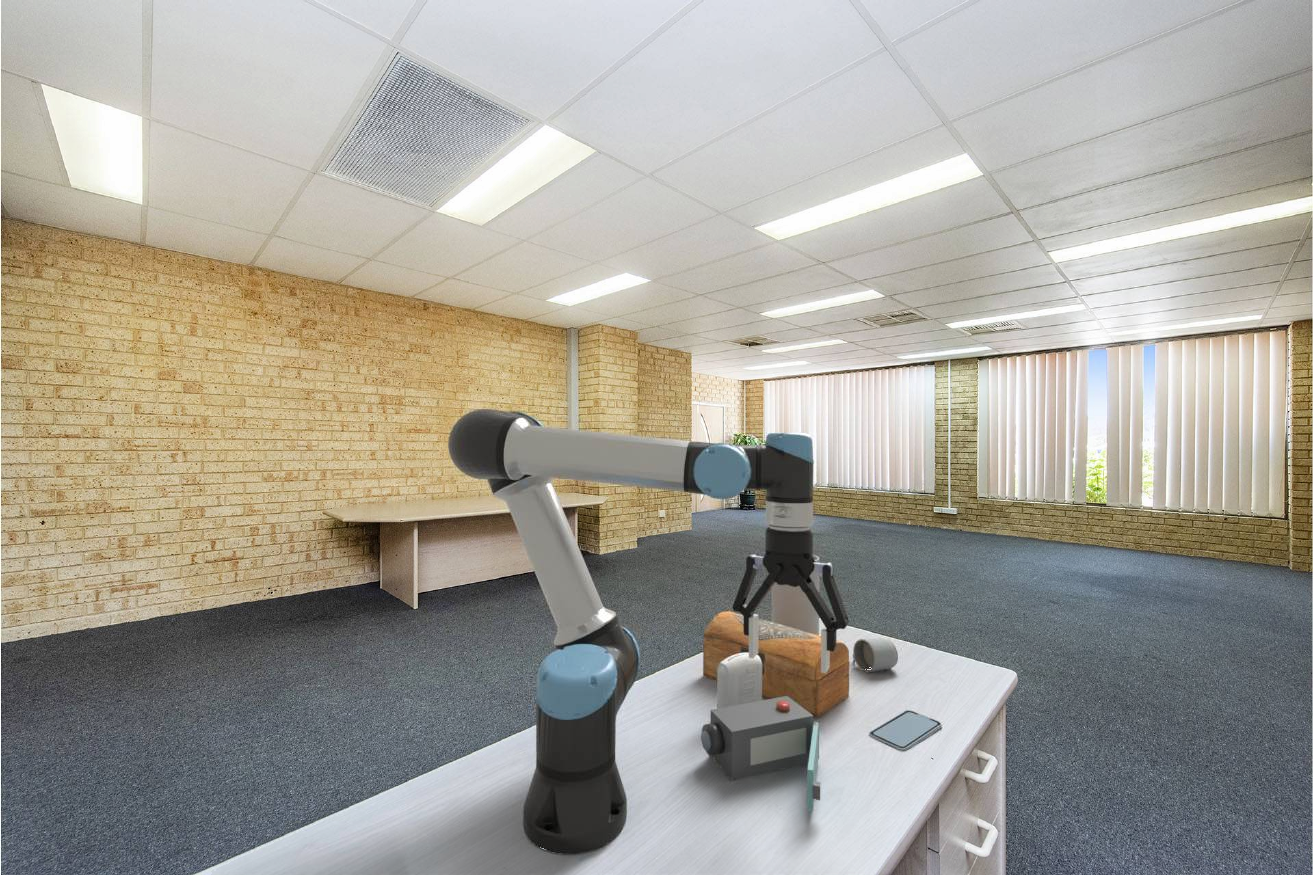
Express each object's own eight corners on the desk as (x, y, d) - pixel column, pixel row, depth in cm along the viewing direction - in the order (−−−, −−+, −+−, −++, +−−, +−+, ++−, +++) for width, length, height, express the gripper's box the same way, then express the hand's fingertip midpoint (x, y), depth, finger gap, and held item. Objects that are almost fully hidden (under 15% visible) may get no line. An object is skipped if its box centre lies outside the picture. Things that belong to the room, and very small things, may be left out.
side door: (819, 813, 80) (820, 772, 81) (806, 810, 81) (806, 770, 81) (824, 758, 95) (824, 723, 95) (813, 756, 95) (813, 721, 95)
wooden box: (698, 677, 130) (699, 619, 131) (740, 658, 142) (740, 605, 142) (812, 723, 109) (813, 653, 109) (850, 696, 121) (850, 633, 121)
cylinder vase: (790, 637, 157) (791, 550, 157) (828, 650, 147) (828, 557, 148) (762, 647, 149) (762, 555, 150) (799, 661, 140) (799, 563, 140)
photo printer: (750, 704, 117) (751, 646, 117) (765, 712, 113) (765, 652, 113) (713, 717, 111) (713, 656, 111) (727, 726, 107) (727, 663, 107)
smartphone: (866, 733, 105) (907, 708, 114) (866, 738, 105) (907, 713, 114) (903, 750, 99) (943, 723, 108) (903, 755, 99) (943, 727, 108)
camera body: (717, 783, 89) (717, 729, 89) (697, 757, 97) (697, 707, 97) (813, 761, 95) (813, 711, 96) (787, 738, 103) (787, 691, 103)
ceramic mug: (900, 672, 134) (900, 640, 134) (874, 677, 130) (874, 644, 131) (869, 657, 143) (868, 627, 144) (844, 661, 140) (843, 631, 141)
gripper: (713, 524, 92) (712, 655, 91) (861, 537, 80) (860, 687, 80) (730, 519, 98) (729, 641, 98) (869, 530, 87) (868, 669, 86)
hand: (788, 662), depth 89 cm, fingers open, 11 cm apart
